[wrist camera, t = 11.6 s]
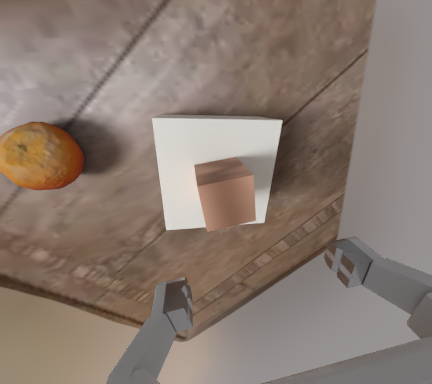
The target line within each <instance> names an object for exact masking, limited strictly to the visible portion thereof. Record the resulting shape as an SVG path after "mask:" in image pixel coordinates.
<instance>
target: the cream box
mask: <svg viewBox="0 0 432 384" xmlns="http://www.w3.org/2000/svg"><path fill="white" fill-rule="evenodd" d="M152 122H153V129H154V137H155V145H156V153H157V161H158V169H159V177H160V184H161V192H162V200H163V208H164V216H165V224H166V230H175V229H188V228H201V227H206V224H205V220H204V215H203V211H202V206H201V202H200V197H199V192H198V188H197V182H196V175H195V168H194V165H196V164H202V163H207V162H212V161H217V160H222V159H228V158H233V157H237V158H238V160H239V161H240V162H241V163H242V164H243V165H244V166H245V167H246V168H247V169H248V170H249V171H250V172H251V173H252V174H253V175H254V191H255V211H256V221H253V222H248V223H244V224H253V223H264V221H265V215H266V210H267V204H268V199H269V193H270V188H271V182H272V177H273V171H274V166H275V160H276V155H277V149H278V144H279V138H280V133H281V127H282V122H283V120H278V119H271V118H265V117H258V116H214V115H166V114H161V115H159V116H156V117H153V118H152ZM239 225H240V224H239Z"/></svg>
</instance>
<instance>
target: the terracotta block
mask: <svg viewBox="0 0 432 384" xmlns="http://www.w3.org/2000/svg"><path fill="white" fill-rule="evenodd" d="M194 168H195V175H196V182H197V188H198V192H199V197H200V202H201V206H202V211H203V215H204V220H205V224H206V229H207V232H208V231H212V230H217V229H221V228H226V227H230V226H235V225H239V224H244V223H248V222H253V221H256V211H255V191H254V175H253V174H252V173H251V172H250V171H249V170H248V169H247V168H246V167H245V166H244V165H243V164H242V163H241V162H240V161H239V160H238V158H237V157H233V158H228V159H222V160H217V161H212V162H207V163H202V164H196V165H194Z"/></svg>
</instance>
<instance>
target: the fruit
mask: <svg viewBox="0 0 432 384" xmlns="http://www.w3.org/2000/svg"><path fill="white" fill-rule="evenodd" d="M84 162H85V159H84V155H83V153H82V151H81V149H80V147H79V145H78V144H77V142H76V141H75V140H74V139H73V138H72V137H71V136H70V135H69V134H68V133H67V132H65V131H64V130H63V129H61V128H59V127H57V126H54V125H50V124H47V123H44V122H29V123H27V124H24V125H21V126H18V127H15V128H13V129H11V130H9V131H7V132H5V133H4V134H3V135H1V136H0V172H1V173H3V174H4V175H6V176H7V177H8V178H9V179H11V180H12V181H13V182H14V183H16V184H17V185H19V186H21V187H25V188H29V189H33V190H50V189H60V188H63V187H65V186H67V185H68V184H70V183H72V182H73V181H75V180H76V179H77V178H78V177H79V175H80V174H81V173H83V174H86V173H85V172H83V168H84Z"/></svg>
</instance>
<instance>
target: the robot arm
mask: <svg viewBox="0 0 432 384" xmlns="http://www.w3.org/2000/svg"><path fill="white" fill-rule="evenodd" d="M326 248H327V249H328V250H327V251H326V252H325V256H324V258H325V261H326V263H327V265H328V266H329V268H330V269H331V270H333V271H335V272H337V277H338V278H339V279H340V280H341V281H342V283H343V284H344V285H345V286H346V287H347V288H350V287H354V286H358V285H363V286H364V287H366V288H367V289H369V290H371V291H372V292H374V293H376V294H377V295H379V296H381V297H382V298H384V299H386V300H387V301H389V302H391V303H393V304H394V305H396V306H397V307H399V308H401V309H402V310H404V311H406V312H407V313H409V314H411V316H410V318H409V319H408V320H407V325H408V326H409V327H410V328H411V329H412V331H414V333H415V334H416V335H417V336H418V337H419V338H420V339H419V340H415V341H412V342H408V343H405V344H401V345H397V346H394V347H390V348H387V349H384V350H380V351H376V352H373V353H369V354H365V355H362V356H358V357H355V358H351V359H348V360H344V361H341V362H337V363H334V364H330V365H326V366H323V367H319V368H316V369H312V370H309V371H305V372H302V373H298V374H294V375H291V376H287V377H284V378H280V379H277V380H273V381H270V382H266V383H262V384H432V275H430V274H427V273H424V272H422V271H419V270H416V269H414V268H411V267H409V266H406V265H403V264H401V263H398V262H396V261H393V260H390V259H388V258H386V259H384V258H383V257H381V256H380V255H379V254H377V253H376V252H375V251H374V250H372V249H371V248H370V247H369V246H367V245H366V244H365V243H364V242H362V241H361V240H360V239H359V238H357V237H349V238H346V239H340V240H336V241H333V242H329V243H328V244H327V245H326ZM191 306H192V293H191V289H190V286H189V285H188V281H187V278H186V277H184V278H179V279H175V280H170V281H165V282H161V283H158V284H157V286H156V291H155V297H154V303H153V309H152V315H151V317H149V318H148V319H147V320H146V322H145V323H144V325H143V326H142V328H141V329H140V331H139V332H138V334H137V335H136V337H135V338H134V340H133V341H132V343H131V344H130V346H129V347H128V348H127V350H126V352H125V353H124V354H123V356H122V358H121V359H120V360H119V362H118V363H117V365H116V366H115V368H114V369H113V371H112V372H111V374H110V375H109V377H108V380H107V384H160V383H159V382H158V381H157V380H156V379H157V377H158V375H159V373H160V370H161V368H162V366H163V363H164V361H165V359H166V357H167V354H168V352H169V350H170V348H171V345H172V343H173V341H174V339H175V336H176V334H177V333H176V332H179V331H183V330H186V329H190V328H193V313H192V310H191Z"/></svg>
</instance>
